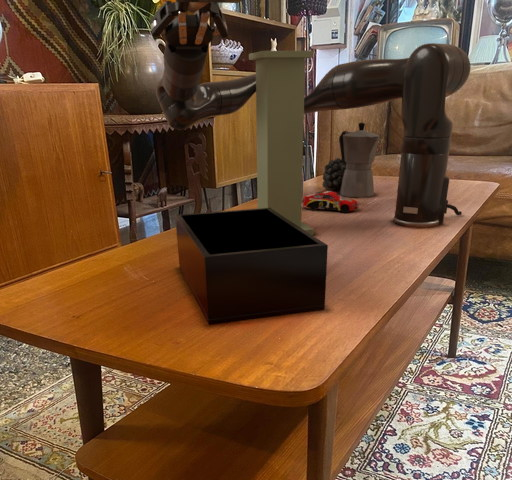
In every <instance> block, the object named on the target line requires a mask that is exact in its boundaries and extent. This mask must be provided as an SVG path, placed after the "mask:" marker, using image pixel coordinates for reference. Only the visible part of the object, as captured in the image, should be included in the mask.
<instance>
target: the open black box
mask: <svg viewBox="0 0 512 480" xmlns="http://www.w3.org/2000/svg"><path fill="white" fill-rule="evenodd" d="M174 218H175V227H176V240H177V241H176V242H177V252H178V253H177V254H178V265H179V270H180V272H181V274H182V276H183V277H184V280H185V281H186V283H187V285H188V288H189V289H190V292H191V293H192V295H193V297H194V299H195V301H196V303H197V305H198V307H199V309H200V311H201V313H202V315H203V317H204V319H205V321H206V323H207V324H208V326H213V325H221V324H228V323H235V322H244V321H250V320H251V321H252V320H259V319H267V318H275V317H282V316H290V315H296V314H305V313H312V312H321V311H325V307H326V290H327V269H328V268H327V267H328V251H329V250H328V248H329V245H328V244H327V243H325V242H323V241H322V240H321V239H320V238H317V237H316V236H314V235H311V234H310V233H308V232H307V231H305V230H304V229H302V228H300V227H299V226H297V225H296V224H294V223H293V222H291V221H290V220H288V219H287V218H285V217H284V216H282V215H280V214H279V213H277V212H276V211H274V210H273V209H271V208H259V209H258V208H246V209H235V210H233V209H232V210H219V211H207V212H192V213H183V214H175V215H174Z"/></svg>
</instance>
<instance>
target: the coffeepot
mask: <svg viewBox="0 0 512 480" xmlns="http://www.w3.org/2000/svg"><path fill="white" fill-rule="evenodd" d="M365 126H366V123H365V122H358V130H354V131H348V130H343V131H342V132H341V134H340V135H339V137H338V141H339V142H338V143H339V149H340V155H341V159H342V162H343V163H345V164H346V169H345V171H344V175H343V180H342V184H341V189H340V191H339V194H340V195H341V196H343V197H346V198H351V199H362V198H363V199H365V198H370V197H371V198H372V197H373V196H374V195H375V186H374V185H375V184H374V172H373V170H372V167H373V163H374V162H375V158H376V154H377V149H378V144H379V141H380V137H381V136H380V135H379V134H376V133H374V132H370V131H367V130H365Z"/></svg>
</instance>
